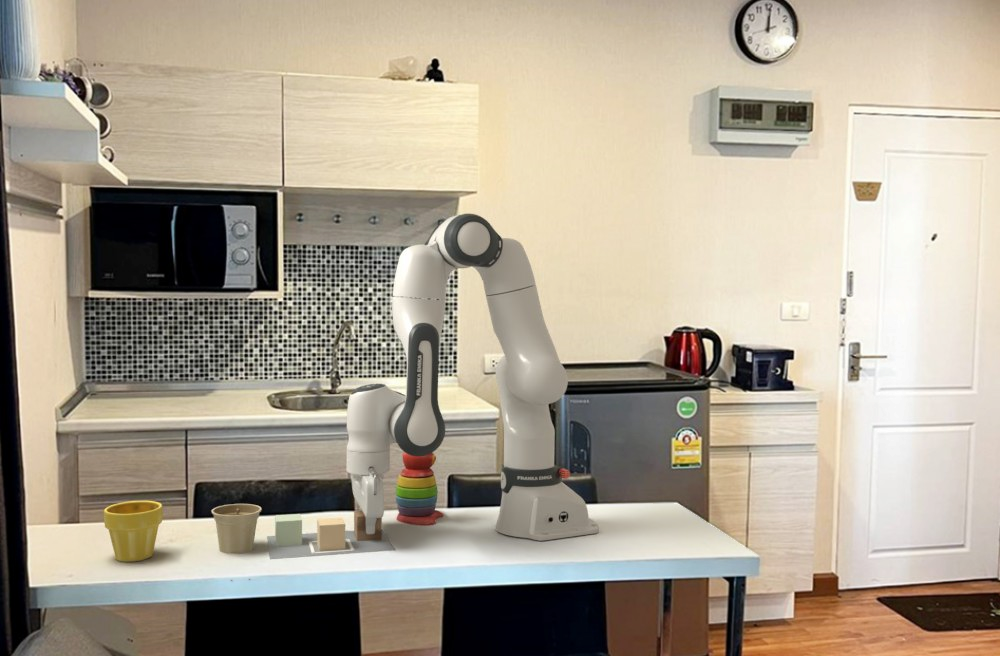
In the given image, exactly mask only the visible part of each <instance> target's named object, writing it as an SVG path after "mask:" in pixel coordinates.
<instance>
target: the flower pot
mask: <svg viewBox="0 0 1000 656" xmlns="http://www.w3.org/2000/svg"><path fill="white" fill-rule="evenodd" d="M262 510H263V509H262V507H261V506H259V505H256V504H251V503H234V504H224V505H219V506H216V507H214V508H213V509H211V514H212V515H213V519H214V521H215V525H216V534H217V541H218V542H217V543H218V549H219V552H221V553H223V554H230V555H232V554H235V555H237V554H244V553H247V552H250V551H252V550H253V549H254V544H255V536H256V529H257V524H258V519H259V517H260V513H261V512H262Z"/></svg>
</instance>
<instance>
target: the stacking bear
mask: <svg viewBox="0 0 1000 656" xmlns="http://www.w3.org/2000/svg"><path fill="white" fill-rule="evenodd" d="M436 459H437V456H436V455H435V453H434V452H432V453H431V454H428V455H425V456H412V455H409V454H407V453H405V452H404V451H402V462H403V466H404V468H403V469H402V470H401V471H400V474H399V475H398V478H397V483H396V484H397V485H396V487H395V501H396V504H397V505H396V506H397V510H398V514H397V516H396V521H397V522H399V523H403V524H406V525H412V526H422V527H426V526H427V527H428V526H429V527H430V526H434V525H435V524H437V522H436V520H438V519H442V518H443V517H444V513H443V512H442V511H440V510H436V506H437V500H438V485H437V481H436V476H435V473H434V471H433V469H431V468H432V467H433V466H434V465H435V462H436Z"/></svg>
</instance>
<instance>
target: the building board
mask: <svg viewBox="0 0 1000 656" xmlns="http://www.w3.org/2000/svg"><path fill="white" fill-rule="evenodd" d="M316 523H317V524H316V529H317V530H316V532H312V533H311V532H310V533H302V545H293V546H278V547H276V542H275V535H268V536H266V539H267V546H268V554H269V555H268V556H269V560H279V559H293V558H307V557H320V556H334V555H347V554H361V553H363V554H364V553H376V552H389V551H390V552H391V551H396V548H395V546H394V545H393V543H392V542H391V540H390V538H389V537H388V535H387V533H386V532H385V530H384V528H382V539H380V540H365V541H357V540H356V538H355V535H354V530H346V523H345V520H344V518H343V517H332V518H330V517H329V518H317V521H316Z"/></svg>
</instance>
